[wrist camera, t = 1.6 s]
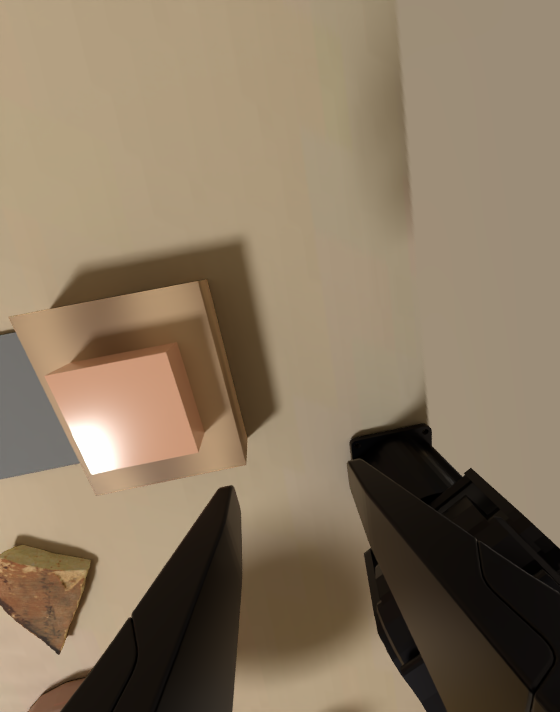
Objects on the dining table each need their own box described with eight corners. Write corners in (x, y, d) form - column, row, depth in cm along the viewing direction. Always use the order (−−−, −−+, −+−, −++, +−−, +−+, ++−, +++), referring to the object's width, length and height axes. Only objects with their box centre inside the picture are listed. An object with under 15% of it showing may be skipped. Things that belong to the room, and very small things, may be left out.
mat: (52, 325, 18) (48, 326, 17) (109, 454, 21) (107, 457, 20) (-92, 352, 17) (-98, 353, 17) (-12, 479, 20) (-16, 482, 20)
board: (207, 279, 18) (197, 281, 15) (247, 438, 21) (246, 464, 18) (49, 308, 17) (8, 316, 14) (117, 465, 21) (96, 495, 18)
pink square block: (176, 341, 16) (166, 352, 14) (204, 432, 17) (198, 452, 15) (70, 362, 15) (44, 375, 13) (109, 451, 17) (91, 474, 15)
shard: (69, 634, 27) (57, 659, 25) (-20, 619, 25) (-40, 645, 23) (99, 555, 24) (87, 577, 22) (2, 533, 23) (-18, 554, 21)
